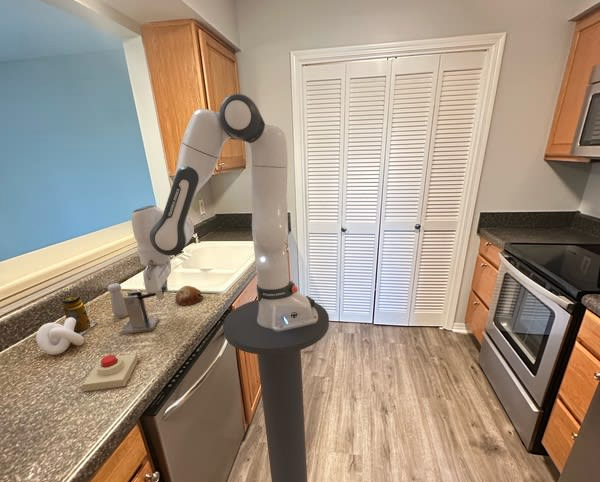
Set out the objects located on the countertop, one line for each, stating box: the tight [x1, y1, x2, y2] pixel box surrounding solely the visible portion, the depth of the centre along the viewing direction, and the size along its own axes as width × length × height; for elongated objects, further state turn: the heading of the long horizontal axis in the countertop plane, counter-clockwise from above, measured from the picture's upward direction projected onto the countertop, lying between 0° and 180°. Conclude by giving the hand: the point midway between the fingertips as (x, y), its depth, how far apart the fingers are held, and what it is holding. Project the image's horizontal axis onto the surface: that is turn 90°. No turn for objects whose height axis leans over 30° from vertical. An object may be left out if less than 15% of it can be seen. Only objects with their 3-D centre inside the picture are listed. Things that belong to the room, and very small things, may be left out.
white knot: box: [35, 317, 85, 356], centre depth 103 cm, size 11×12×9 cm
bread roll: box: [175, 285, 204, 306], centre depth 133 cm, size 10×10×8 cm
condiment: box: [61, 295, 97, 336], centre depth 113 cm, size 7×8×12 cm
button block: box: [81, 353, 139, 392], centre depth 90 cm, size 10×12×4 cm
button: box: [100, 354, 117, 368], centre depth 89 cm, size 4×4×2 cm
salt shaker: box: [106, 282, 129, 319], centre depth 121 cm, size 6×6×13 cm
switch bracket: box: [121, 290, 159, 335], centre depth 113 cm, size 10×8×13 cm
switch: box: [130, 288, 167, 301], centre depth 111 cm, size 12×5×2 cm, turn 99°
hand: (163, 294), depth 112 cm, fingers closed on switch, 5 cm apart
